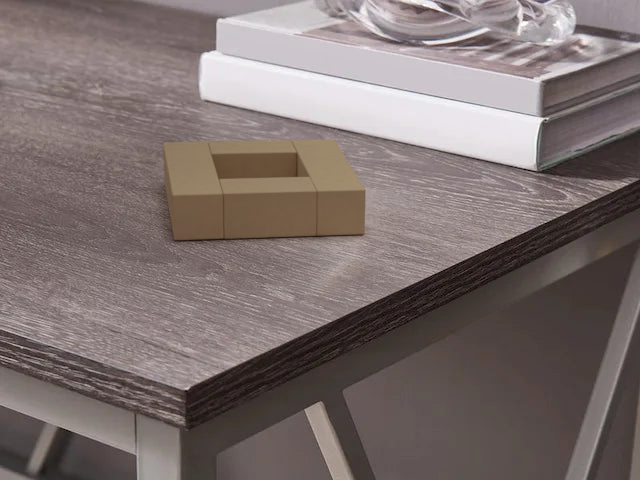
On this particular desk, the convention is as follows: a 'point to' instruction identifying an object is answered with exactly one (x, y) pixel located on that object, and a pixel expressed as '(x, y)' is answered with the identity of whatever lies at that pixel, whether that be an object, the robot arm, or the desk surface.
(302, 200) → the socket pad
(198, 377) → the desk surface
